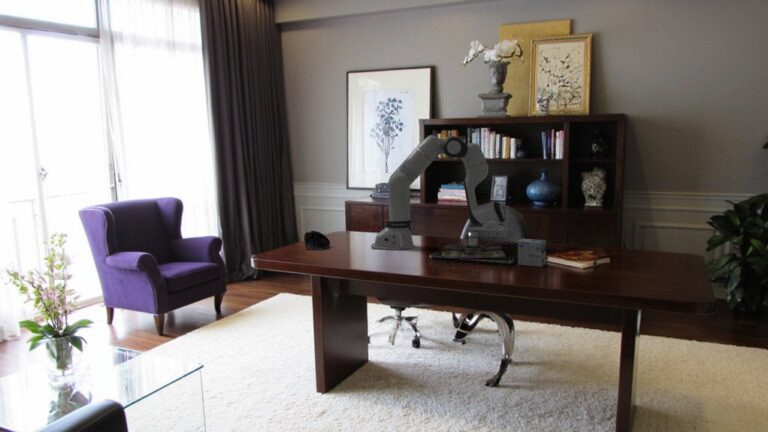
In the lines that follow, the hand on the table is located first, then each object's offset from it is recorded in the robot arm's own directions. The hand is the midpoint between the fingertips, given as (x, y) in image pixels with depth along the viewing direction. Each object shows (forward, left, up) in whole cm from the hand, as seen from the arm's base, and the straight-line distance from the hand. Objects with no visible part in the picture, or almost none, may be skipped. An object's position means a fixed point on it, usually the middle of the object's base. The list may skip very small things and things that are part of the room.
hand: (480, 234), depth 269 cm
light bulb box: (+21, -23, -9) cm, 33 cm away
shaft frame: (-4, -7, -9) cm, 12 cm away
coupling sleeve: (-4, -7, -8) cm, 11 cm away
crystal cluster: (-85, +14, -9) cm, 86 cm away
